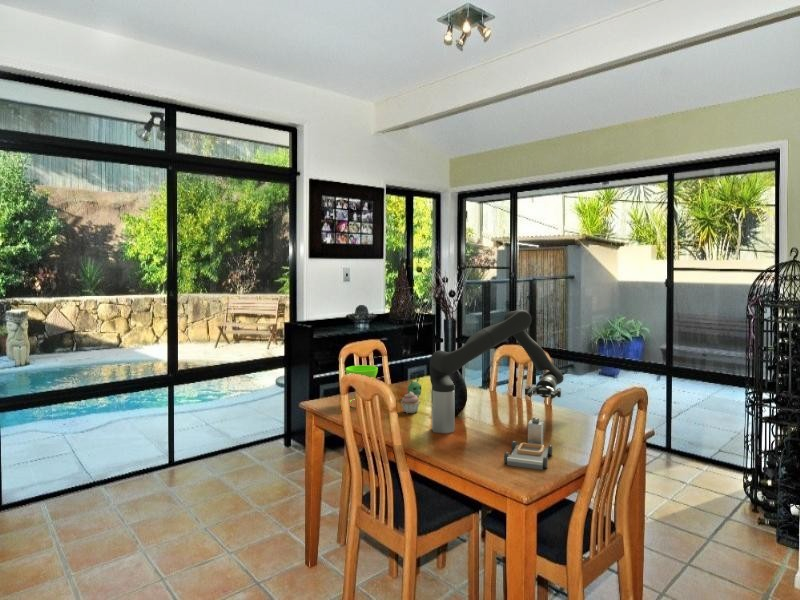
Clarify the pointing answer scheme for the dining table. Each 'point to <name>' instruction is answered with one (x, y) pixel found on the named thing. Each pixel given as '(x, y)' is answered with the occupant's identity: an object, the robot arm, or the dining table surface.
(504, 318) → the robot arm
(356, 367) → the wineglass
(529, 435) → the block
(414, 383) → the alien toy
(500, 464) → the dining table surface
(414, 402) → the cupcake
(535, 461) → the chassis
